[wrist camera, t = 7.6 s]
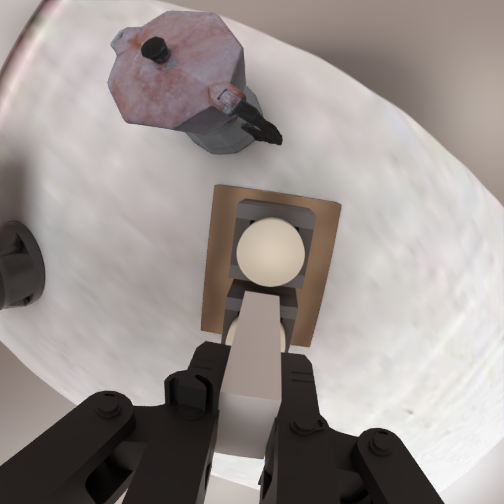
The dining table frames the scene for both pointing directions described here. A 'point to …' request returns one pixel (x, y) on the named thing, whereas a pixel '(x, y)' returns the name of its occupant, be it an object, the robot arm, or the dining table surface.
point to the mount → (236, 283)
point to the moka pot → (188, 81)
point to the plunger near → (270, 252)
